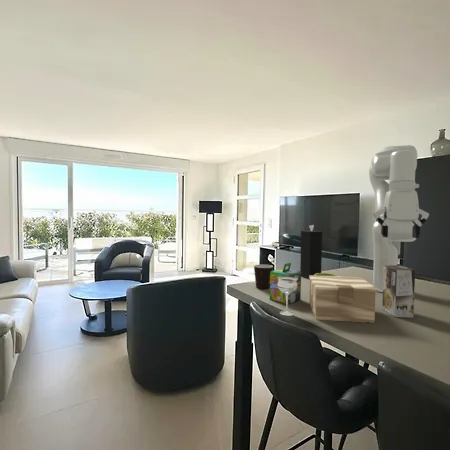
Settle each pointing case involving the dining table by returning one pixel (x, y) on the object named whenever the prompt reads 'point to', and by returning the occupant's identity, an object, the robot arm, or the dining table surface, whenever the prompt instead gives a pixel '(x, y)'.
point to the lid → (342, 286)
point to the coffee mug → (262, 276)
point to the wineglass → (287, 290)
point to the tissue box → (311, 252)
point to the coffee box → (398, 290)
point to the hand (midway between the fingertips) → (400, 237)
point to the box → (342, 306)
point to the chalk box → (274, 290)
